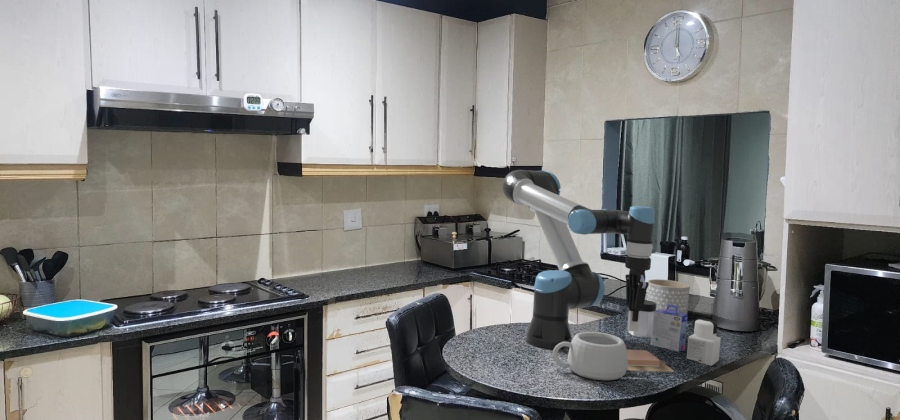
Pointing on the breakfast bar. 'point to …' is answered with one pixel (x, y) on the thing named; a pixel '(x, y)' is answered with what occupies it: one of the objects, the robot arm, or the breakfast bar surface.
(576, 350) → the mug
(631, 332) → the jar
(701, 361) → the container
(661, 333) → the ink cartridge box
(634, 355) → the tile
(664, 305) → the planter
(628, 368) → the plate
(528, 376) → the breakfast bar surface
